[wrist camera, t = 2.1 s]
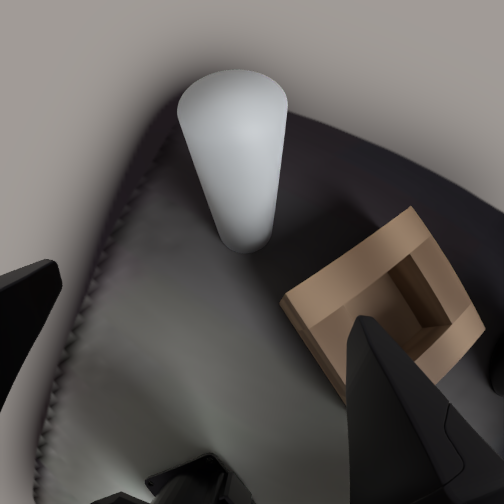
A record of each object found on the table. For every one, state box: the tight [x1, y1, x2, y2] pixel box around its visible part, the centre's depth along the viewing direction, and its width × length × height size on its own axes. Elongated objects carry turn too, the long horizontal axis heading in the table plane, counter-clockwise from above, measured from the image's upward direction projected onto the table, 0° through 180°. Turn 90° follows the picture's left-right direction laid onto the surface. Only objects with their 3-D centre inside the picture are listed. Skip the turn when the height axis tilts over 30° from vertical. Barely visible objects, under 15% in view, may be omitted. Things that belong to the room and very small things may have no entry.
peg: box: [177, 70, 288, 254], centre depth 16 cm, size 4×4×13 cm
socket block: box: [279, 206, 485, 405], centre depth 18 cm, size 10×10×5 cm
